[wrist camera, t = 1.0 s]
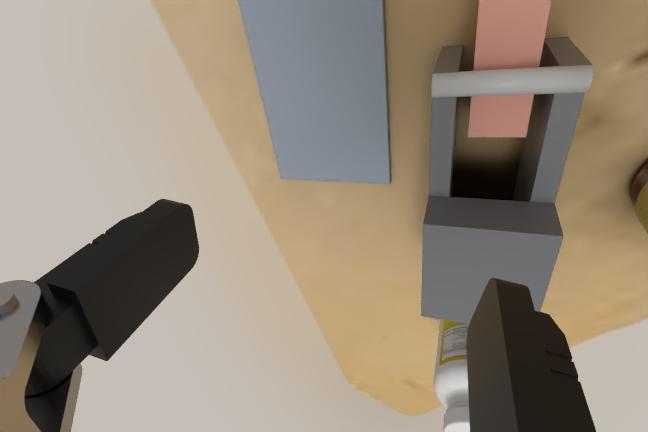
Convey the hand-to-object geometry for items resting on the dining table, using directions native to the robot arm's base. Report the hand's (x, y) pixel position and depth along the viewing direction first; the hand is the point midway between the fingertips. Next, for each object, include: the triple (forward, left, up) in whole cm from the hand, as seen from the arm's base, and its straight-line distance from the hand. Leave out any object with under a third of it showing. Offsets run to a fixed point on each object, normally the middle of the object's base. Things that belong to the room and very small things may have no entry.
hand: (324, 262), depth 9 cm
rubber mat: (+1, -7, -19) cm, 21 cm away
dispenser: (+7, +5, -19) cm, 21 cm away
